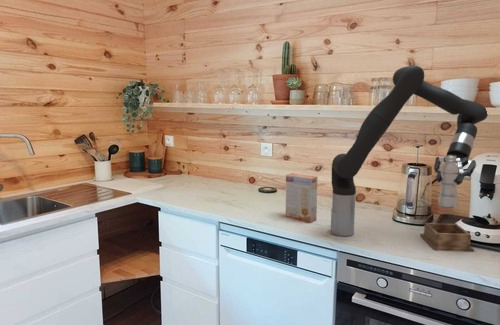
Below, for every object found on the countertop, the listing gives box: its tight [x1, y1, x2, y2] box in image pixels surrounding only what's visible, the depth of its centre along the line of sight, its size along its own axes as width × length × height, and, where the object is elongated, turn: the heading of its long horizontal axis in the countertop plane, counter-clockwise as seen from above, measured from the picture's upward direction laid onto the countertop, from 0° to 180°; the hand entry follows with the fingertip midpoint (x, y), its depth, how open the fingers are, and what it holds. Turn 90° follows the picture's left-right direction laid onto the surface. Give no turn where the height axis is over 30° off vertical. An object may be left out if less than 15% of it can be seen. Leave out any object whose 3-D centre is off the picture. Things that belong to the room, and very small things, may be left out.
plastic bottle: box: [437, 154, 460, 209], centre depth 134 cm, size 6×7×20 cm
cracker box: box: [285, 173, 318, 223], centre depth 167 cm, size 14×6×21 cm, turn 48°
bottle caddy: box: [419, 222, 475, 253], centre depth 138 cm, size 14×14×6 cm
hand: (448, 182), depth 133 cm, fingers closed on plastic bottle, 6 cm apart
